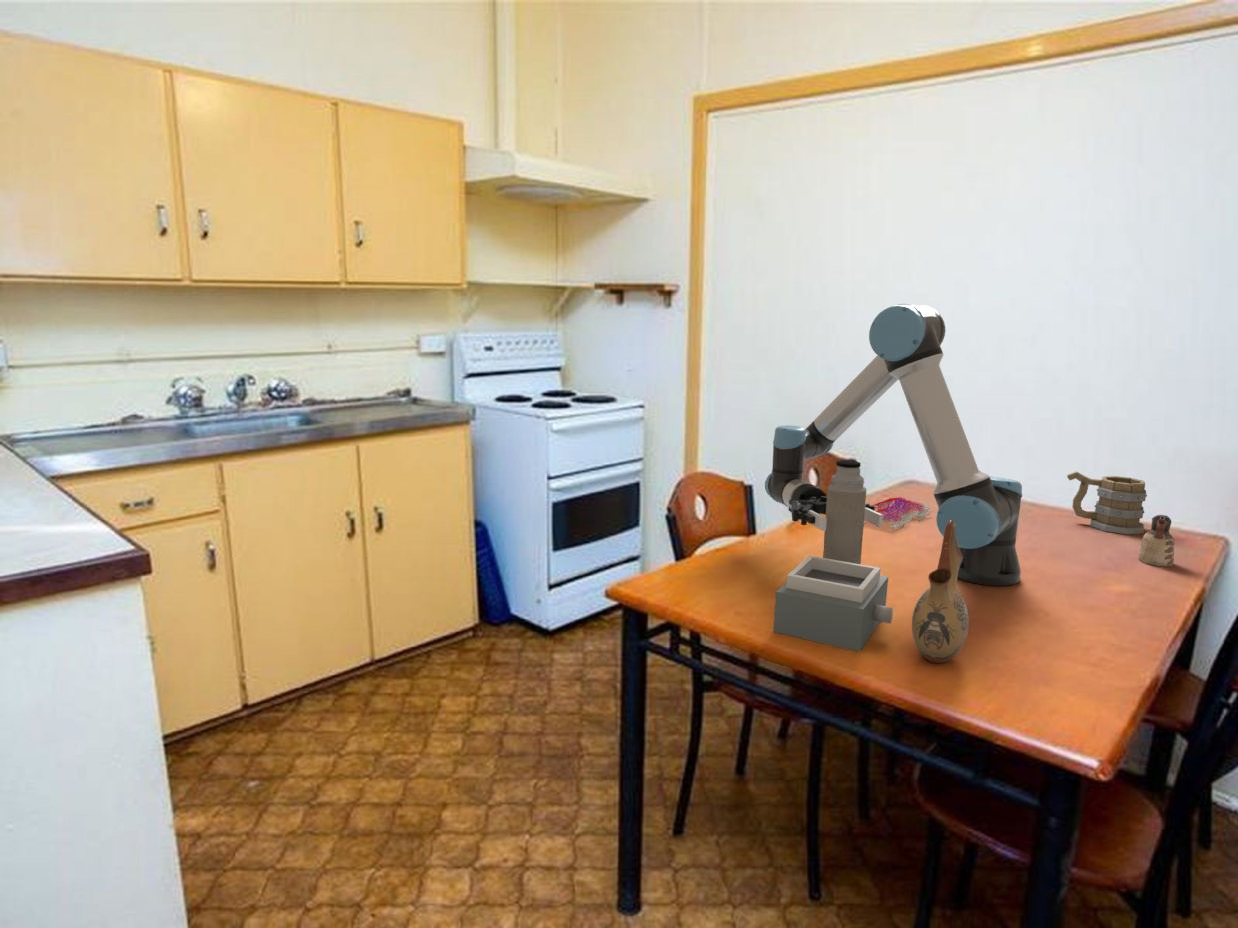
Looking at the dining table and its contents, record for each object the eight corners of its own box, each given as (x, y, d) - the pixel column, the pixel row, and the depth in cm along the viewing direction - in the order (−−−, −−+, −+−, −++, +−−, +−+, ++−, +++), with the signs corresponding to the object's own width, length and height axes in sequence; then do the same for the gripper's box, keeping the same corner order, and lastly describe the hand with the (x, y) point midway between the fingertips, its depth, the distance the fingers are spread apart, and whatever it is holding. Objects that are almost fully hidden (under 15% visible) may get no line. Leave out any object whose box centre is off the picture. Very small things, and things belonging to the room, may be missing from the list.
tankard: (1142, 526, 222) (1150, 475, 219) (1143, 537, 212) (1151, 483, 209) (1062, 515, 232) (1069, 466, 229) (1059, 525, 222) (1066, 474, 219)
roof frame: (897, 535, 211) (899, 517, 210) (845, 524, 221) (847, 506, 220) (939, 515, 233) (941, 498, 232) (890, 506, 243) (892, 489, 242)
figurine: (1175, 562, 190) (1183, 514, 188) (1170, 568, 185) (1178, 520, 183) (1141, 555, 195) (1148, 509, 193) (1135, 561, 190) (1142, 514, 188)
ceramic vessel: (918, 635, 145) (931, 505, 140) (971, 646, 141) (986, 513, 136) (899, 668, 132) (912, 526, 127) (956, 682, 127) (972, 535, 122)
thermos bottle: (856, 582, 173) (866, 458, 168) (860, 594, 165) (870, 466, 160) (819, 579, 175) (828, 457, 169) (821, 591, 167) (830, 464, 161)
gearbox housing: (900, 618, 153) (905, 567, 151) (877, 655, 136) (882, 599, 134) (806, 598, 163) (809, 550, 161) (773, 631, 146) (776, 578, 144)
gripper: (850, 511, 188) (902, 536, 168) (755, 516, 182) (798, 543, 161) (852, 480, 186) (906, 502, 166) (757, 485, 180) (800, 508, 160)
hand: (853, 522), depth 164 cm, fingers open, 12 cm apart
